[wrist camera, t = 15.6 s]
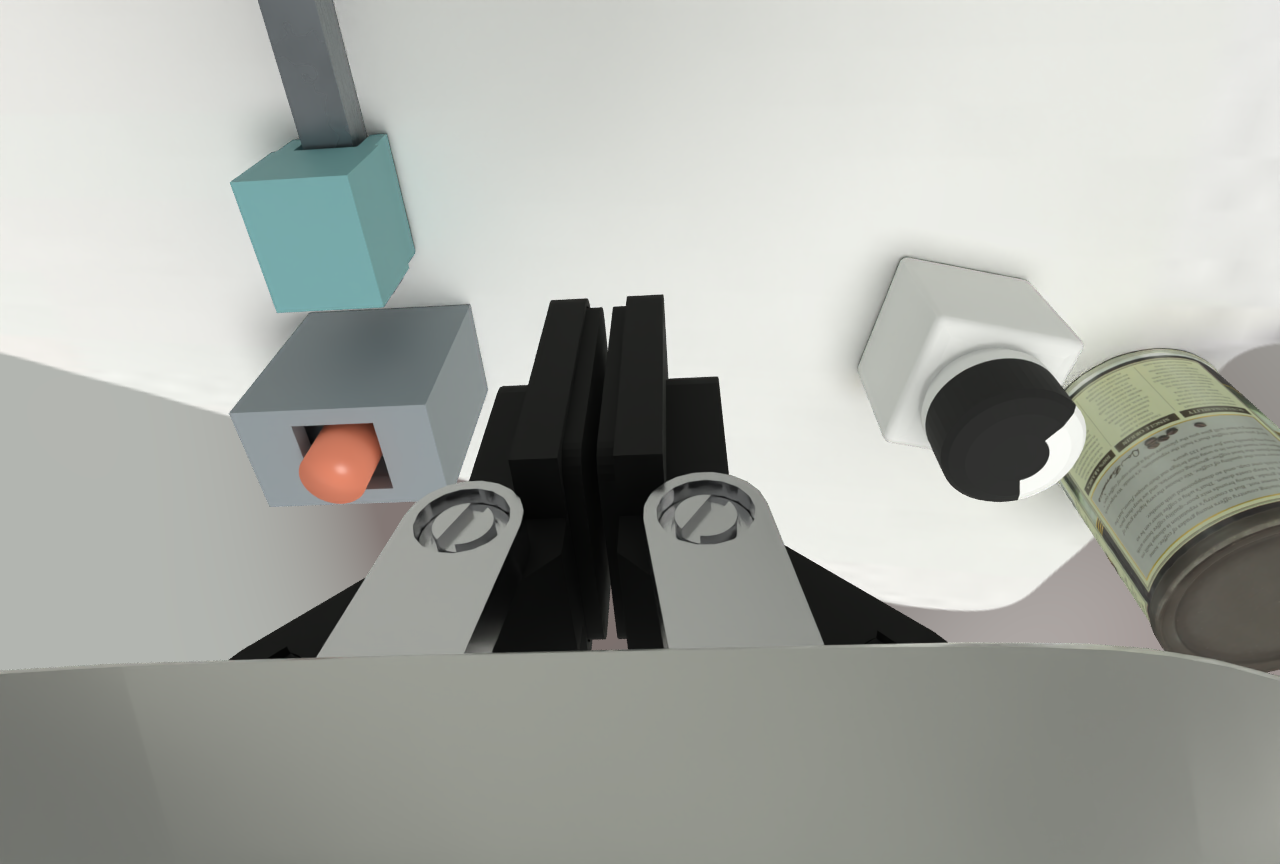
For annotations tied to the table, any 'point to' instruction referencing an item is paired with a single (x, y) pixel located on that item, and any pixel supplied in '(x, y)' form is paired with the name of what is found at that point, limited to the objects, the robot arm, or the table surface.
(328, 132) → the rail
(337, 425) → the plunger
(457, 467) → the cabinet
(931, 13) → the table surface
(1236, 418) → the coffee can
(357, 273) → the block
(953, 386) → the medicine bottle
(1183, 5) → the table surface
